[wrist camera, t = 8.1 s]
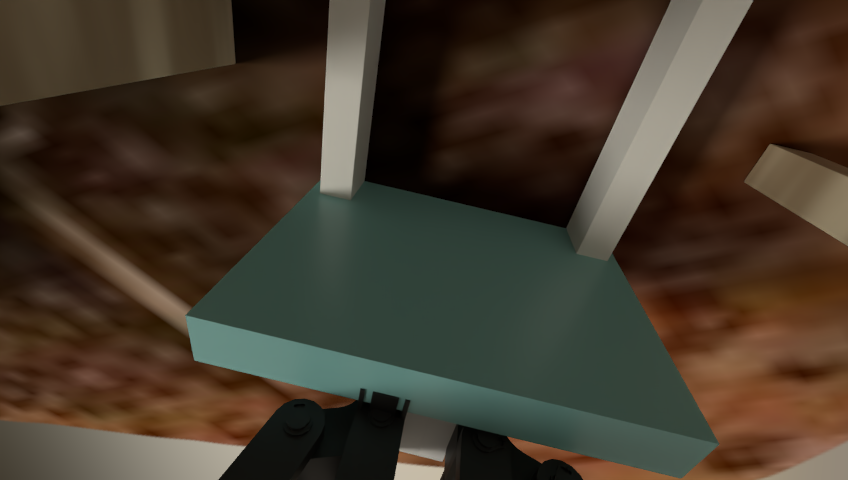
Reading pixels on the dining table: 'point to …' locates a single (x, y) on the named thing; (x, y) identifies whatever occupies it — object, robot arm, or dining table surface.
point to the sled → (476, 276)
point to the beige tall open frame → (214, 46)
